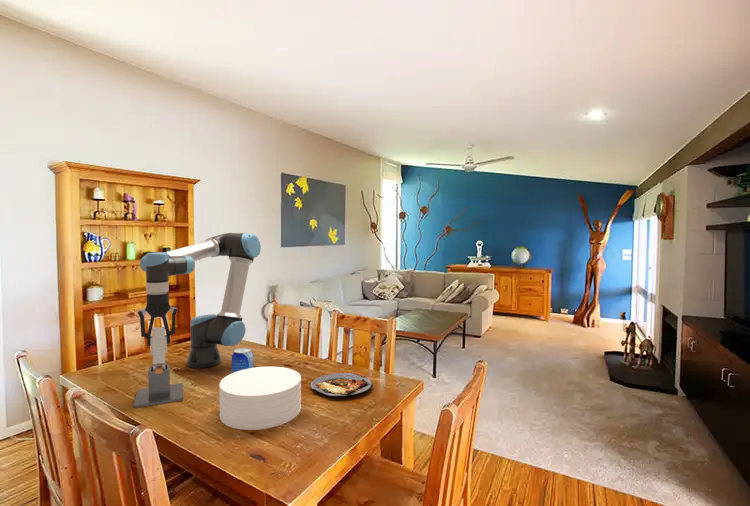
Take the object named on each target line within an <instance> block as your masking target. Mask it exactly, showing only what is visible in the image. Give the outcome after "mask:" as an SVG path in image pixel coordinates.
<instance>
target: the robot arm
mask: <svg viewBox="0 0 750 506" xmlns="http://www.w3.org/2000/svg"><path fill="white" fill-rule="evenodd" d="M261 246H262V245H261V241H260V240H259V237H258V236H256V234H253V233H248V232H244V233H243V232H241V233H240V232H226V233H223V234H219V235H215V236H212V237H211V236H210V237H208V238H206V239H205V240H204V241H202V242H198V243H194V244H191V245H187V246H183V247H179V248H175V249H171V250H169V251H165V252H164V251H163V252H162V251H161V252H160V251H159V252H157V251H156V252H149V253H148V252H147V253H146V255H144V256H142V257H141V259H140V260H139V266H140V269H141V270H142V271H143V272H144V273H145V278H146V279H145V281H146V283H145V286H146V287H145V288H146V289H145V290H146V291H145V292H146V293H147V294H146V306H145V308H143V309H141V310H140V309H139V310H138V311H137V314H138V316H139V320H140V335H141V337H142V338H146V346H147V347H150V356H153V338H152V336H151V335H152V330H153V328H154V327H153V326H154V323H155V322H154V321H155V318H161V319H162V322H163V325H164V326H163V327H165V354H168V345H170V343H171V336H172V335H174V334H176V318H177V317H176V316H177V313H178V307H173V306H171V304H170V293H169V290H170V288H169V285H170V283H169V279H170V278H169V277H171V276H178V275H179V276H181V275H184V276H185V275H188V274H191V273H192V272H194V270H195V269H196V267H195V266H196V264H195V262H196V261H200V260H203V259H206V258H217V257H228V260H229V261H230V266H229V271H228V275H227V280H226V285H225V289H224V294H223V295H224V296H223V300H222V305H221V309H220V312H219V313H217V314H214V313H213V314H212V313H211V314H203V315H198V316H195V317H194V316H193V317H192V318H191V320H190V326H189V327H190V328H189V329H190V330H189V331H190V332H189V333H190V350H189V353H188V356H187V360H186V366H187V367H189V368H192V369H205V368H209V367H210V368H211V367H215V366H217V365H219V364H220V363H222V355H221V354H220V351H219V348H218V345H219V346H225V347H233V346H234V347H235V346H237V345H239V344H240V343H241V342H242V340H243V339H244V338H245V334H246V324H245V323H244V322H243V316H242V315H241V309H242V305H243V299H244V296H245V295H244V294H245V289H246V283H247V279H248V278H247V277H248V273H249V269H250V265H251V264H253V263H254V259H255V258H257V257H258V256H259V255H260V253H261V250H262V249H261ZM169 311H170V313H171V330H170V328H169V324H168V320H167V314H168V312H169ZM146 313H147V314H148V315H149V316H150V320H149V325H148V328H147V329H148V330H147V332H146V321H145V320H146V319H145V315H146Z"/></svg>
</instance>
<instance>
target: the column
mask: <svg viewBox="0 0 750 506" xmlns="http://www.w3.org/2000/svg"><path fill="white" fill-rule="evenodd" d="M151 335H152V338H153V355H152V366H153V371H155V369H157V368H163V370H166V367H165V365H167V364H166V362H167V361H166V353H165V335H166V331H165V327H164V326H161V327H160V326H159V327H152V332H151Z"/></svg>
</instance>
